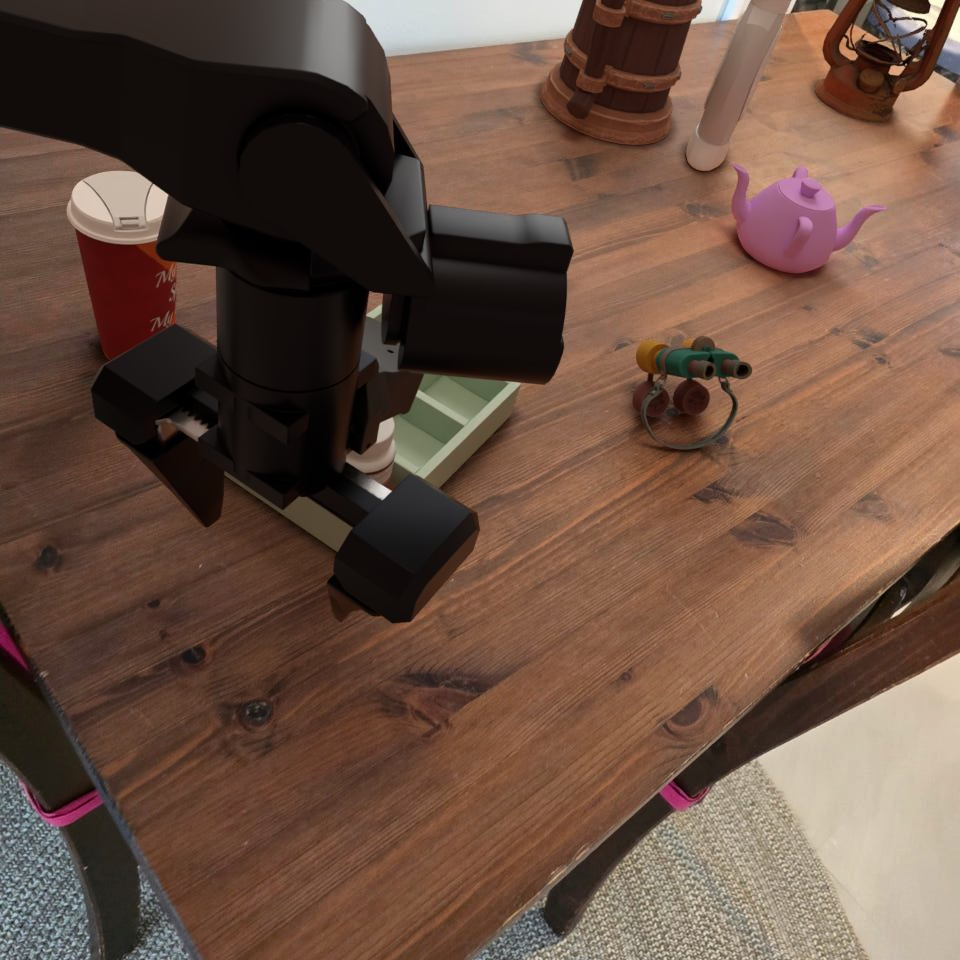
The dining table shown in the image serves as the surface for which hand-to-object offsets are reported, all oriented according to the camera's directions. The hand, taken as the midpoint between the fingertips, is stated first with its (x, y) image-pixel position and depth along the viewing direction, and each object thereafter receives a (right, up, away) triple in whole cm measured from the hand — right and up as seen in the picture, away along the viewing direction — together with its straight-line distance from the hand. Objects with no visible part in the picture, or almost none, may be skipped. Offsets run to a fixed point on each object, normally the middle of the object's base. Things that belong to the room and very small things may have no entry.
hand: (276, 567), depth 47 cm
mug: (+27, +54, +72) cm, 93 cm away
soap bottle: (+42, +47, +70) cm, 94 cm away
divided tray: (+2, +8, +24) cm, 25 cm away
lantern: (+70, +65, +94) cm, 134 cm away
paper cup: (-17, +15, +26) cm, 34 cm away
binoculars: (+28, +10, +34) cm, 45 cm away
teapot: (+46, +32, +58) cm, 80 cm away
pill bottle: (+1, +3, +18) cm, 19 cm away
